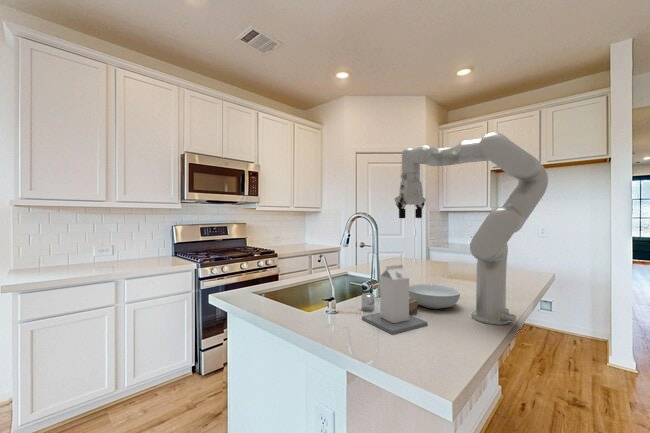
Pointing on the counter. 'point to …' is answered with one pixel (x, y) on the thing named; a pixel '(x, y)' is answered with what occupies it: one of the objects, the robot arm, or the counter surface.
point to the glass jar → (368, 302)
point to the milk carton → (394, 294)
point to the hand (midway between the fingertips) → (410, 218)
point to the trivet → (394, 327)
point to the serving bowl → (434, 295)
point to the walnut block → (413, 306)
